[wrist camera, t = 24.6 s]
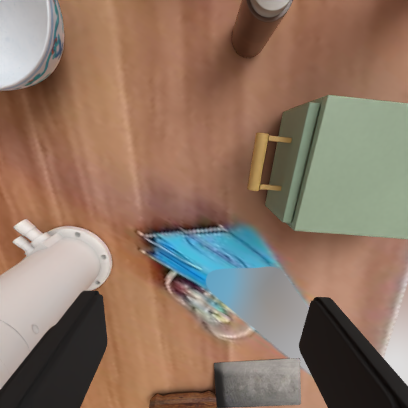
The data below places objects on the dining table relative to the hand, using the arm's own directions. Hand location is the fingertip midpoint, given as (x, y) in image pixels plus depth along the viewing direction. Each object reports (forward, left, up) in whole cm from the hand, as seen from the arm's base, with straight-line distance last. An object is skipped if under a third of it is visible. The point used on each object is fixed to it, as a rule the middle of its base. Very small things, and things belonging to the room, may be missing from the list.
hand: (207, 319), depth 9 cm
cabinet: (+11, +19, -23) cm, 32 cm away
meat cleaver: (+37, -24, -24) cm, 50 cm away
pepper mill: (-12, +18, -23) cm, 32 cm away
